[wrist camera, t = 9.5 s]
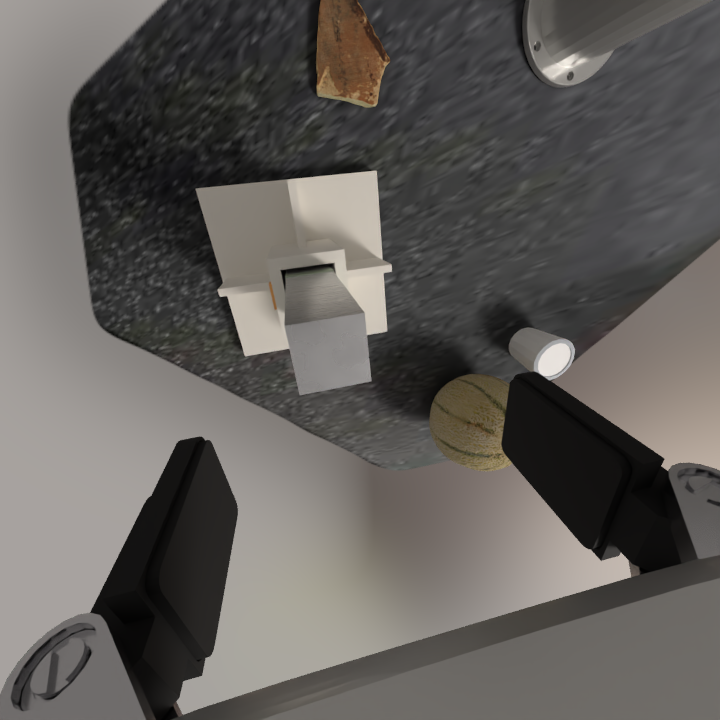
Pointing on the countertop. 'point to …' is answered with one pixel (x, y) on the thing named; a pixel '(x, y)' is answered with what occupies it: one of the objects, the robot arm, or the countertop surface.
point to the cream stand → (294, 247)
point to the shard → (348, 54)
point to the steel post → (324, 330)
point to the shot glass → (542, 352)
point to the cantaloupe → (471, 421)
